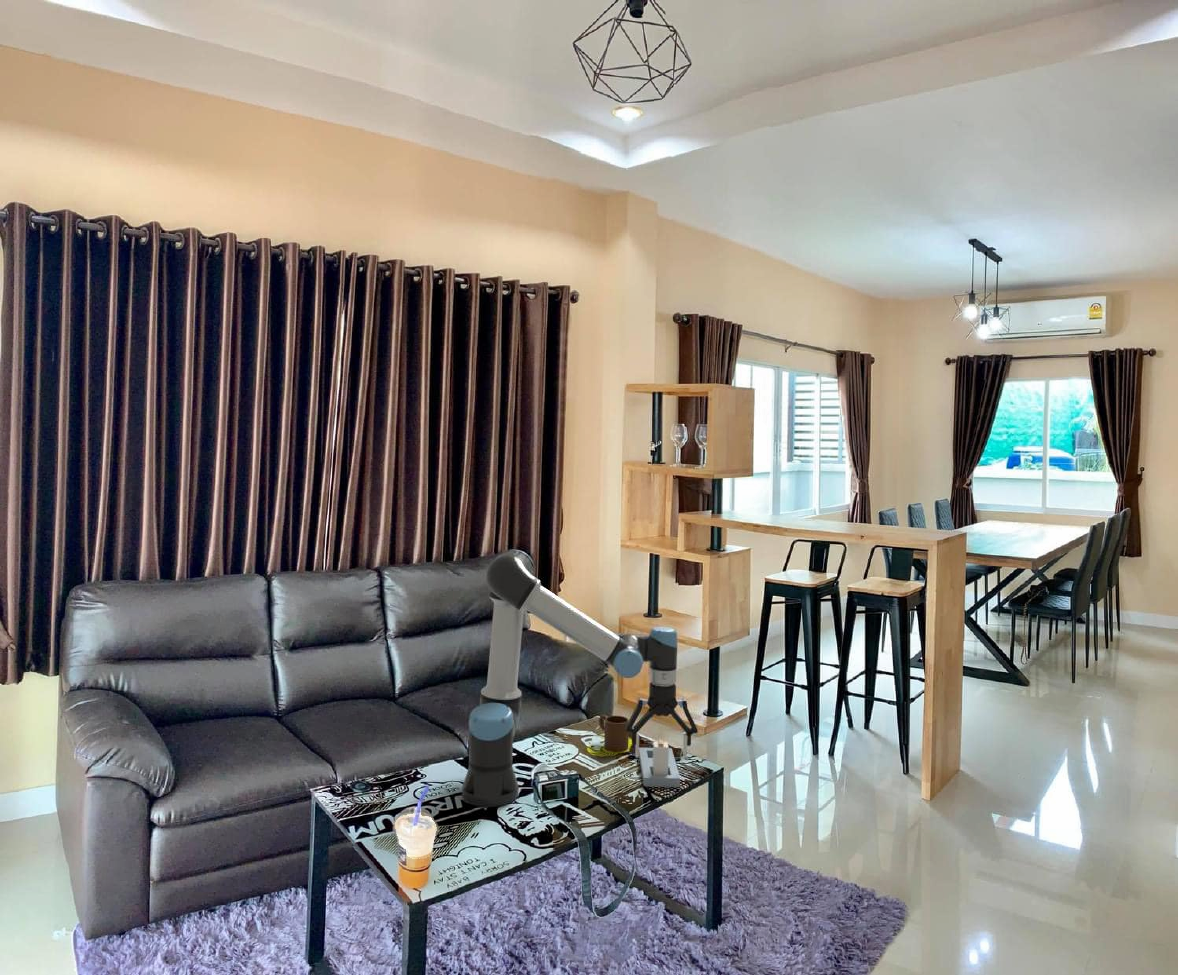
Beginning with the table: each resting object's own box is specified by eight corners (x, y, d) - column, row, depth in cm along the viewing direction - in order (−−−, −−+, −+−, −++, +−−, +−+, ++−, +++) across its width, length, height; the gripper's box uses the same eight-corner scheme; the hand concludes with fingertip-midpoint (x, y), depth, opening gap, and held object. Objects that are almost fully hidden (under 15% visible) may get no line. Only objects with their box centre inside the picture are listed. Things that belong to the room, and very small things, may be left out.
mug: (590, 743, 257) (590, 714, 256) (608, 738, 262) (608, 709, 261) (615, 755, 248) (615, 725, 247) (633, 749, 252) (634, 720, 252)
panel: (643, 788, 225) (644, 777, 224) (638, 757, 247) (638, 747, 246) (679, 788, 225) (680, 778, 225) (671, 757, 247) (671, 748, 246)
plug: (653, 781, 228) (654, 744, 227) (652, 775, 232) (653, 738, 231) (667, 782, 228) (668, 744, 227) (666, 776, 232) (667, 739, 231)
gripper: (619, 685, 224) (617, 760, 225) (709, 687, 224) (706, 762, 226) (618, 677, 232) (616, 750, 233) (705, 679, 232) (702, 751, 233)
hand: (660, 756), depth 229 cm, fingers open, 13 cm apart
